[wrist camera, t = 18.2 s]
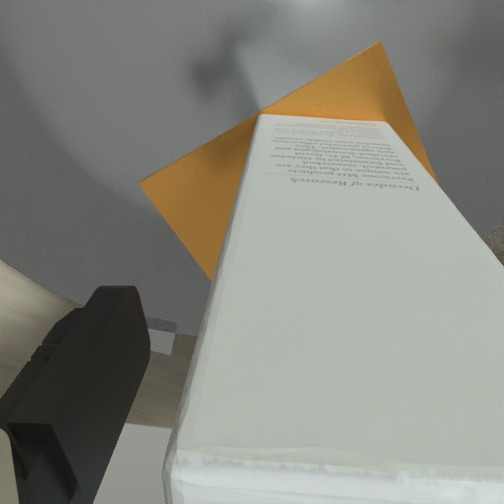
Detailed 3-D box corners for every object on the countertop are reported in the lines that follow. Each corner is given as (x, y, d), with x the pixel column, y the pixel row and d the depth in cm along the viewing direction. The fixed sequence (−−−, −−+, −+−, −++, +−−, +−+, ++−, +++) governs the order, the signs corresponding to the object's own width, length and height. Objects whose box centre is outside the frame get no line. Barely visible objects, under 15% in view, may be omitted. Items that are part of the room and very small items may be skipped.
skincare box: (360, 276, 16) (475, 754, 6) (249, 267, 16) (177, 713, 6) (394, 113, 13) (757, 539, 3) (256, 106, 13) (131, 473, 3)
